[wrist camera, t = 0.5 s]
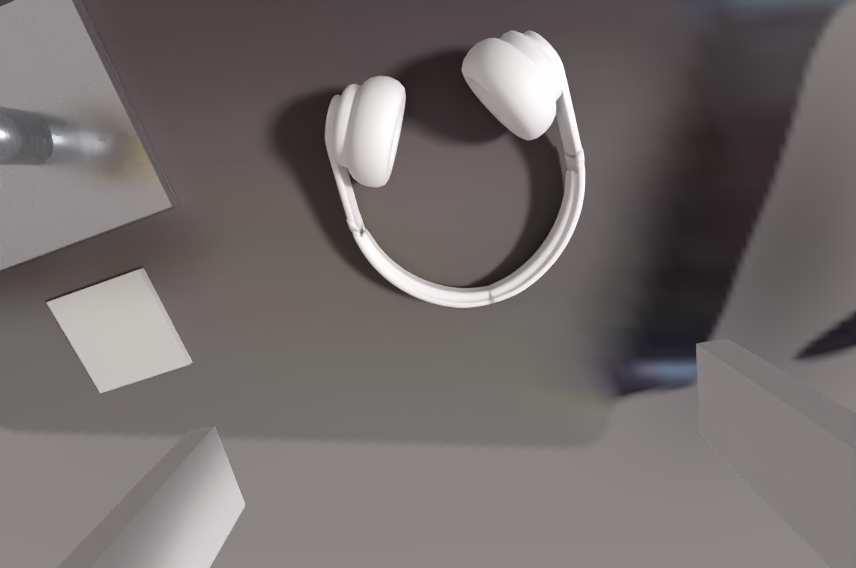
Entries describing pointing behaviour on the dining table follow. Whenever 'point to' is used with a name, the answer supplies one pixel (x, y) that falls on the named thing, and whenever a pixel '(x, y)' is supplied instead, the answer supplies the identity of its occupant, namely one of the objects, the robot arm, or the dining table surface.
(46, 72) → the post fixture
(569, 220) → the headphones
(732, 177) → the dining table surface
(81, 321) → the mat
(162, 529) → the robot arm
